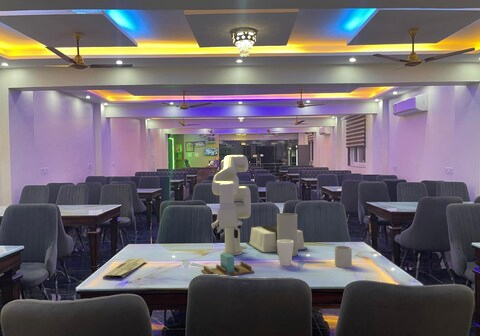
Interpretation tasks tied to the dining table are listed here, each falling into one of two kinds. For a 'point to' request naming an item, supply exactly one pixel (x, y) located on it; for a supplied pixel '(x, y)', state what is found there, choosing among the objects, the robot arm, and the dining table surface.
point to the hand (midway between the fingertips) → (227, 238)
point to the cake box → (269, 239)
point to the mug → (343, 256)
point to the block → (227, 262)
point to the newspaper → (125, 267)
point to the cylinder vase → (288, 229)
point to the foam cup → (285, 251)
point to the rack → (219, 270)
